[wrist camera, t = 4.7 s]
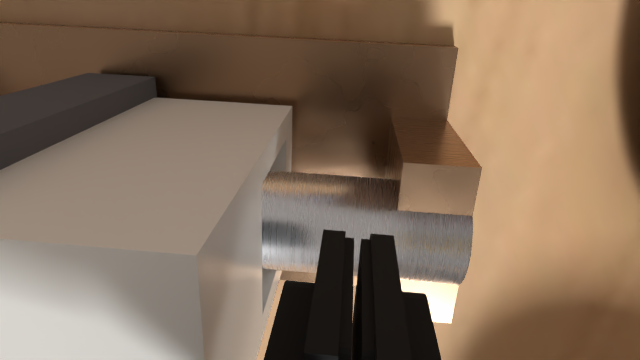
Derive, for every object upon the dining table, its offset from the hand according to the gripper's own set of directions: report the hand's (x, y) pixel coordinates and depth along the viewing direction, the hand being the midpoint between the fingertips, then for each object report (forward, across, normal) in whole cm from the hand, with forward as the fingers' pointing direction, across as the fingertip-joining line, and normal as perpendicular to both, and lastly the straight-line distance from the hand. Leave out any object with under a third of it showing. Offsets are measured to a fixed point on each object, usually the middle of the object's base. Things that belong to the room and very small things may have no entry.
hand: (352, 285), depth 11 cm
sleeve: (+6, +5, 0) cm, 8 cm away
